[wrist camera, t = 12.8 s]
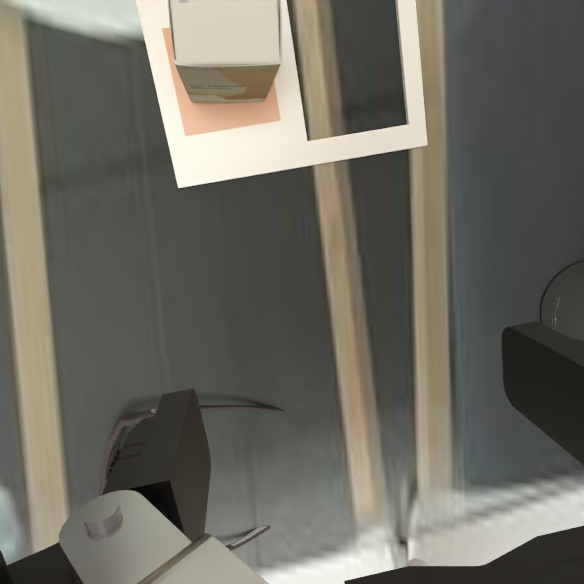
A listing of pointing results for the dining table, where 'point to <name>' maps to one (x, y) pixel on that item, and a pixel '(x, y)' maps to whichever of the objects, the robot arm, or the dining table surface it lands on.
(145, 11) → the window card
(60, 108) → the dining table surface
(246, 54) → the skincare box
